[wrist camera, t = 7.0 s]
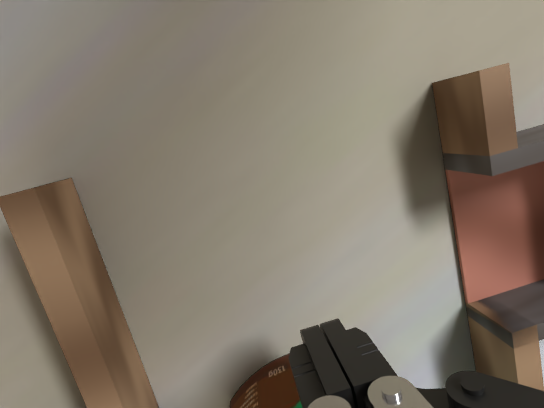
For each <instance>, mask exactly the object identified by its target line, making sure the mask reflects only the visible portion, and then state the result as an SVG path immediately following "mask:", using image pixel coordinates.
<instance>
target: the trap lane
mask: <svg viewBox="0 0 544 408" xmlns="http://www.w3.org/2000/svg"><path fill="white" fill-rule="evenodd" d="M432 86H433V92H434V99H435V105H436V112H437V119H438V125H439V132H440V138H441V145H442V151H443V158H444V164H445V171H446V178H447V184H448V191H449V197H450V204H451V210H452V217H453V223H454V230H455V237H456V243H457V250H458V256H459V263H460V269H461V276H462V282H463V289H464V296H465V302H466V309H467V315H468V322H469V328H470V335H471V341H472V348H473V355H474V361H475V368H476V372H479V373H483V374H486V375H490V376H493V377H497V378H500V379H504V380H507V381H511V382H514V383H518V384H521V385H525V386H528V387H532V388H535V389H539V390H542V391H544V386H543V377H542V367H541V358H540V349H539V340H542V339H544V125H540V126H536V127H533V128H529V129H526V130H522V131H519V132H516V124H515V115H514V106H513V96H512V87H511V78H510V68H509V63H507V64H503V65H499V66H495V67H491V68H487V69H484V70H480V71H476V72H472V73H468V74H465V75H461V76H457V77H453V78H449V79H446V80H442V81H438V82H434V83H432ZM0 207H1V210H2V212H3V214H4V217H5V219H6V221H7V224H8V226H9V228H10V231H11V233H12V235H13V238H14V240H15V242H16V244H17V247H18V249H19V251H20V254H21V256H22V258H23V261H24V263H25V265H26V268H27V270H28V272H29V275H30V277H31V279H32V282H33V284H34V286H35V288H36V291H37V293H38V295H39V298H40V300H41V302H42V305H43V307H44V309H45V312H46V314H47V316H48V319H49V321H50V323H51V325H52V328H53V330H54V332H55V335H56V337H57V339H58V342H59V344H60V346H61V349H62V351H63V353H64V356H65V358H66V360H67V363H68V365H69V367H70V369H71V372H72V374H73V376H74V379H75V381H76V383H77V386H78V388H79V390H80V393H81V395H82V397H83V400H84V402H85V404H86V407H87V408H159V406H158V404H157V401H156V398H155V396H154V393H153V391H152V388H151V385H150V383H149V380H148V377H147V375H146V372H145V370H144V367H143V364H142V362H141V359H140V356H139V354H138V351H137V349H136V346H135V343H134V341H133V338H132V335H131V333H130V330H129V328H128V325H127V322H126V320H125V317H124V314H123V312H122V309H121V307H120V304H119V301H118V299H117V296H116V293H115V291H114V288H113V286H112V283H111V280H110V278H109V275H108V272H107V270H106V267H105V265H104V262H103V259H102V257H101V254H100V251H99V249H98V246H97V244H96V241H95V238H94V236H93V233H92V230H91V228H90V225H89V223H88V220H87V217H86V215H85V212H84V209H83V207H82V204H81V202H80V199H79V196H78V194H77V191H76V188H75V186H74V183H73V181H72V178H69V179H65V180H62V181H58V182H54V183H50V184H46V185H43V186H39V187H35V188H31V189H27V190H24V191H20V192H16V193H12V194H9V195H5V196H1V197H0Z"/></svg>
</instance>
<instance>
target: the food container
mask: <svg viewBox="0 0 544 408" xmlns="http://www.w3.org/2000/svg"><path fill="white" fill-rule="evenodd" d="M230 408H302V405H301V401H300V398H299V395H298V391H297V388H296V384H295V380H294V377H293V373H292V369H291V366H290V362H289V354H287V355H285V356H282V357H280V358H278V359H276V360H274V361H272V362H271V363H269V364H267V365H265V366H264V367H262V368H261V369H260V370H258V371H257V372H256V373H255V374H253V375H252V376H251V377H250V378H249V379H248V380H247V381H246V382H245V383H244V384H243V385H242V386H241V387H240V388H239V390H238V391H237V392H236V394H235V395H234V397H233V398H232V399H231V401H230Z"/></svg>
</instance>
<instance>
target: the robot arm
mask: <svg viewBox="0 0 544 408" xmlns="http://www.w3.org/2000/svg"><path fill="white" fill-rule="evenodd" d="M300 333H301V337H302V341H303V344H301V345H298V346H295V347H292V348H291V350H290V354H289V362H290V366H291V369H292V373H293V377H294V380H295V384H296V388H297V391H298V395H299V398H300V401H301V405H302V408H544V391H542V390H539V389H535V388H532V387H528V386H525V385H521V384H518V383H514V382H511V381H507V380H504V379H500V378H497V377H493V376H490V375H486V374H483V373H479V372H475V371H461V372H457V373H454V374H453V375H451V376H450V377H449V378H448V379H447V381H446V388H441V389H420V388H415V387H414V386H413V384H412V383H410V382H409V381H408V380H406V379H404V378H402V377H398V376H397V374H396V373H395V372H394V370H393V369H392V368H391V366H390V365H389V363H388V362H387V361H386V359H385V358H384V357H383V355H382V354H381V353H380V351H378V348H377V347H376V346H375V344H374V343H373V342H372V340H371V339H370V338H369V336H368V335H367V333H365V332H363V331H361V330H360V329H358V328H356V327H355V328H352V329H349V330H345V328H344V327H343V325H342V323H341V322H340V320H339V319H335V320H332V321H328V322H325V323H322V324H320V327H319V325H316V326H312V327H309V328H306V329H303V330H300Z"/></svg>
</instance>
